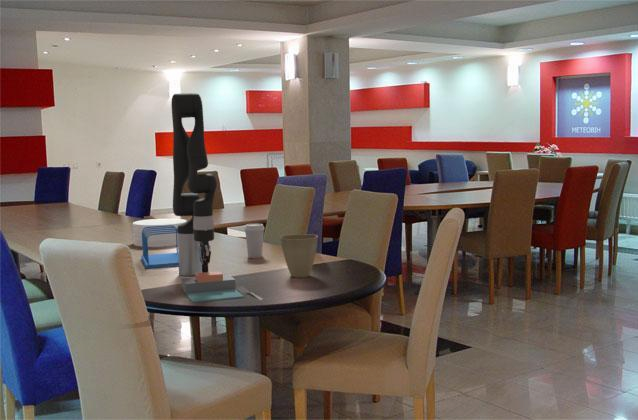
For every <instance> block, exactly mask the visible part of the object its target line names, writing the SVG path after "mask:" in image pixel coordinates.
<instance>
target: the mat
mask: <svg viewBox="0 0 638 420" xmlns="http://www.w3.org/2000/svg"><path fill="white" fill-rule="evenodd" d="M185 295H186V297H187V298H188V299H189V300H190V302H191V303H201V302H202V303H203V302H209V301H210V302H212V301H221V300H232V299H242V298H244V295H243V294H242V293H241V292H240V291H239V290H238V289H237V288H235V289H231V290H221V291H210V292H199V293H188V294H185Z"/></svg>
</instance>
